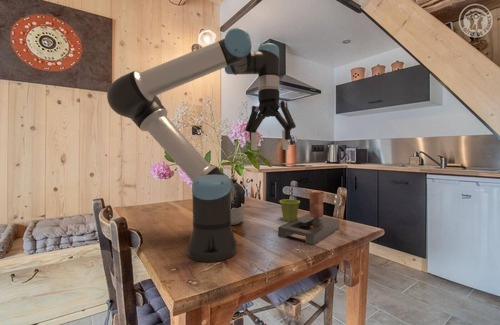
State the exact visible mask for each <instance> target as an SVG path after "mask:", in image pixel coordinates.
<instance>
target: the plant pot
mask: <svg viewBox="0 0 500 325" xmlns="http://www.w3.org/2000/svg"><path fill="white" fill-rule="evenodd" d="M279 203H280V207H281V213H282V214H281V215H282V219H283V220H284V221H286V222H291V221H293V220H296V219H298V212H299V206H300V203H301V201H300V199H299V200H298V199H290V198H289V199H286V198H285V199H280V200H279Z"/></svg>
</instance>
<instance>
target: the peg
mask: <svg viewBox="0 0 500 325" xmlns="http://www.w3.org/2000/svg"><path fill="white" fill-rule="evenodd" d="M309 215H310V217H314V223H313V224H315V223H316V222H318V221H319V218H320V217H324V191H323V190H312V191H309ZM313 224H310V225H309V226H308V229H309V230H312V229H314V228H313Z"/></svg>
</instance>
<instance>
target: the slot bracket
mask: <svg viewBox="0 0 500 325" xmlns="http://www.w3.org/2000/svg"><path fill="white" fill-rule="evenodd" d="M310 224H313V228H314V229H312V230H311V229H309V230H308V229H306V228H307V227H309V225H310ZM338 229H340V219H338V218H332V217H326V216H322V217H320V218H319V221H318V222H316V223H315V224H314V217H310V213H309V214H306V215H303V216H301V217H297V219H296V220H293V221H288V222H287V223H284V224H282V225H279V226H278V227H277V235H278V237H281V238H284V239H285V238H287V237H290V236H292V235H293V234H294V235H297V236H302V237H305V244H309V245H313V246H315V245H316V244H317V243H319V242H320V241H322V240H323V239H325V238H327V237H328V236H329V235H331V234H332V233H335V231H337V230H338Z"/></svg>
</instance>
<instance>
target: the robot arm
mask: <svg viewBox="0 0 500 325" xmlns="http://www.w3.org/2000/svg"><path fill="white" fill-rule="evenodd" d="M280 60H281V58H280V48H279V46H278V45H276V44H275V43H270V42H267V43H262V44H260V45H259V46H258V49H257V51H252V41H251V37H250V35H249V32H248V31H246V30H245V29H244V28H242V27H232V28H230V29H229V30H228V31H227V32H226V34H225V37H224V38H222V39H220V40H218V41H215V42H213V43H211V44H208V45H205V46H203V47H201V48H198V49H196V50H194V51H190V52H188V53H186V54H183V55H181V56H178V57H175V58H173V59H171V60H168V61H166V62H163V63H161V64H158V65H156V66H154V67H151V68H148V69H146V70H143V71H142V72H141V71H139V70H133V71H131V72H128V73H126V74H124V75H122V76H120V77H119V78H117V79H115V80H114V81H113V82H112V83H111V84H110V85H109V87H108V89H107V93H106V99H107V100H106V101H107V103H108V104H109V105H108V106H110V109H112V111H113V112H115V113H116V114H118V115H120V116H121V117H124V118H127V119H130V120H131V121H133V123H134V124H135V125H136V127H138V129H139V130H141V131H142V132H148V133H149V134H150V135H151V137H153V139H154V140H155V141H156V142H157V143H158V144H159V145H160V146H161V148H162V149H163V150H164V151H165V152H166V154H168V156H169V157H170V158H171V159H172V160H173V162H174V163H176V165H178V167H179V168H180V169H181V170H182V171H183V172H184V173H185V175H186V176H187V177H188V179H190V180H191V192H192V194H191V195H192V230H191V233H190V237H189V241H188V245H187V248H186V249H187V256H188V258H190V259H191V260H194V261H197V262H202V263H204V262H205V263H214V262H221V261H225V260H228V259H230V258H232V257H234V256H235V255H236V254H237V252H238V251H237V250H238V245H237V241H236V239H235V235H234V231H233V229H232V228H233V227H232V225H231V203H233V200H234V199H235V196H236V187H235V184H234V181H233V180H232V179H231V178H230V177H229V176H227V175H225V174H224V172H222V171H221V169H220V168H219V167H218V166H217V165H211V164H209V162H208V161H207V160H206V159H205V157H204V156H203V155H202V154H201V153H200V152H199V151H198V150H197V148H196V147H194V145H193V144H192V143H191V141H189V140H188V138H187V137H186V136H185V135H184V133H182V131H180V130H179V128H178V127H177V126H176V125H175V124H174V123H173V121H172V120H171V119H170V118H169V117H168V110H167V108H166V107H165V106H164V105H163V104H162V101H161V99H160V98H159V97H158V95H161V94H163V93H166V92H168V91H170V90H173V89H176V88H178V87H180V86H183V85H186V84H188V83H190V82H192V81H195V80H198V79H199V78H203V77H204V76H207V75H210V74H211V73H214V72H217V71H219V70H222V69H224V72H225V74H227V75H233V76H236V75H258V77H257V78H258V80H257V82H258V84H257V85H258V87H257V88H258V90H259V91H258V96H257V98H258V99H257V100H258V103H259V104H258V106H256V105H251V113H250V115H249V118H248V121H247V124H246V127H245V132H248V133H249V142H250V148H251V149H250V150H251V151H258V133H257V130H258V129H259V127H260V125H261V123H263V120H265V119H266V118H270V117H275V119H276V120H277V122H279V124H280V125H281V127H282V128H283V130H282V131H281V133H282V134H281V135H282V137H281V143H282V144H281V145H282V146H281V147H282V148H281V149H282V150H285V151H287V150H289V140H291V130H292V129H296V126H297V125H296V123H295V121H294V119H293V117H292V114H291V113H290V110H289V109H288V108H289V107H288V103H287V101H285V100H281V101H280ZM279 109H281V112H282V113H280V110H279ZM282 114H283V115H282ZM283 116H284V117H283Z"/></svg>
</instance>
